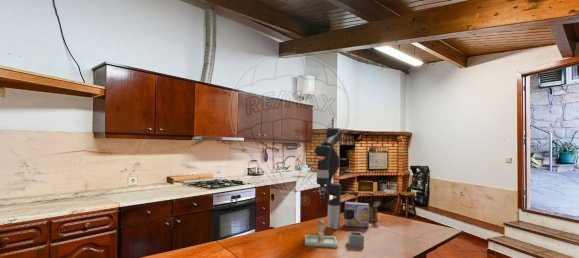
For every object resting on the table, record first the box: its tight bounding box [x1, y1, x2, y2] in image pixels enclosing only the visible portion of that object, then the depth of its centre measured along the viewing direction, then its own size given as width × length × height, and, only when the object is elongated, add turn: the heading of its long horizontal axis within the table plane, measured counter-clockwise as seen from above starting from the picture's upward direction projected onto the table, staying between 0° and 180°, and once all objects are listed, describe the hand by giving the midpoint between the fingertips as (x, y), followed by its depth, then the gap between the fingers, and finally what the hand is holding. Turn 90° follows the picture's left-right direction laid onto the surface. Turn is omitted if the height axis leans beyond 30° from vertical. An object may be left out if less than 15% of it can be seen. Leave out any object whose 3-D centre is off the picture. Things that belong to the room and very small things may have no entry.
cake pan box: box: [343, 201, 370, 228], centre depth 229 cm, size 19×5×18 cm, turn 73°
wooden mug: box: [369, 200, 381, 223], centre depth 245 cm, size 9×14×18 cm, turn 13°
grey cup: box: [347, 230, 365, 249], centre depth 187 cm, size 9×9×7 cm
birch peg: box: [317, 219, 325, 242], centre depth 189 cm, size 4×4×13 cm
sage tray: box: [304, 234, 338, 249], centre depth 188 cm, size 14×20×2 cm
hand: (321, 202), depth 189 cm, fingers open, 8 cm apart
